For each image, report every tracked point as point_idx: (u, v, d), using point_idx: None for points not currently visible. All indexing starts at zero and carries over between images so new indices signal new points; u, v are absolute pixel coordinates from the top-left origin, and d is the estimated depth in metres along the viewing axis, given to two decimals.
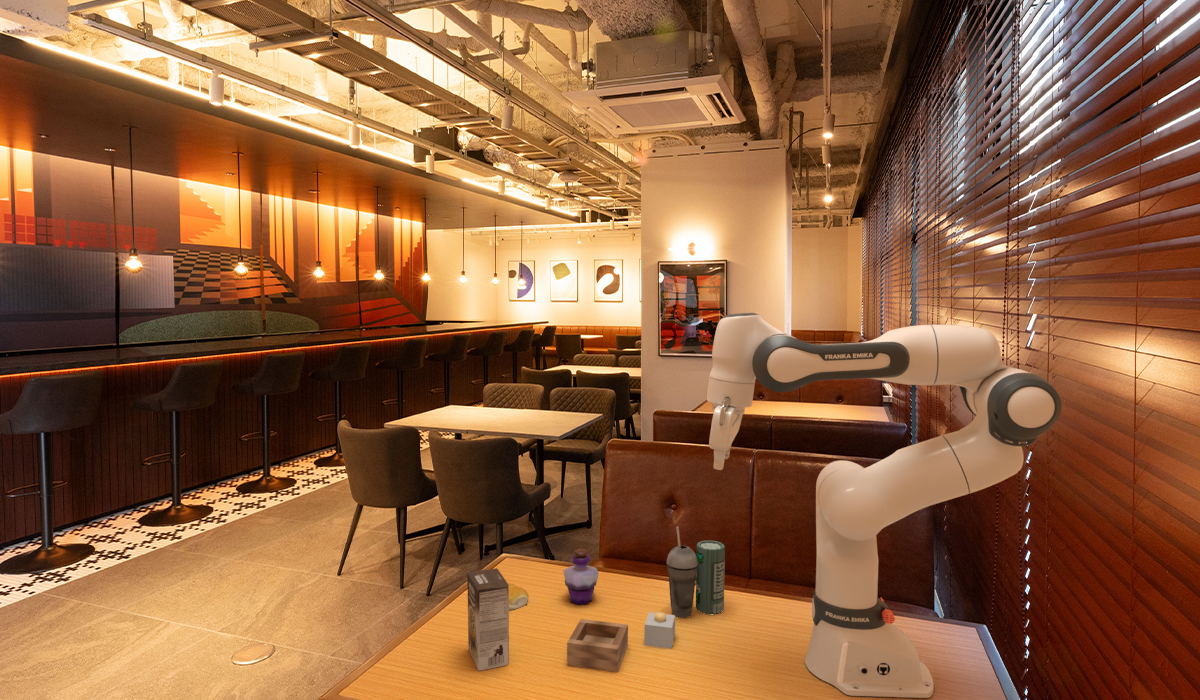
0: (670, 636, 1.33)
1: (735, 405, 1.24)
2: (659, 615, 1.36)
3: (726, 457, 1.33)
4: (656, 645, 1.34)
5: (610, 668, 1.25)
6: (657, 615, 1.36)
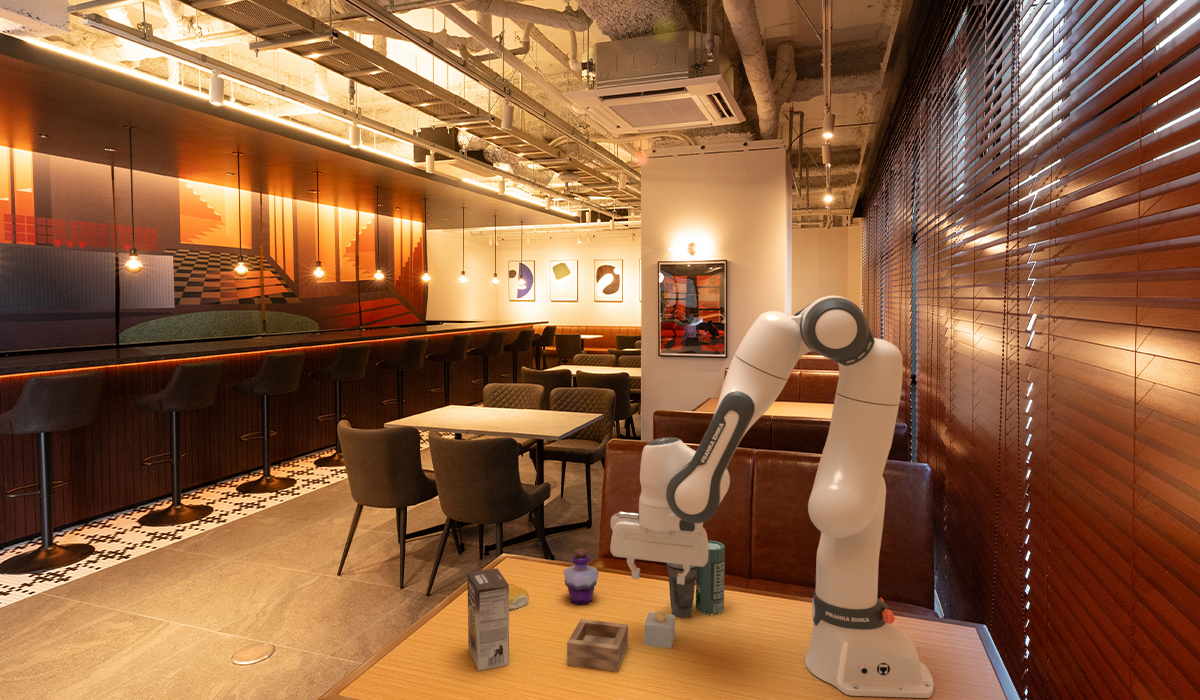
0: (670, 636, 1.33)
1: (639, 522, 1.35)
2: (659, 615, 1.36)
3: None
4: (656, 645, 1.34)
5: (610, 668, 1.25)
6: (657, 615, 1.36)
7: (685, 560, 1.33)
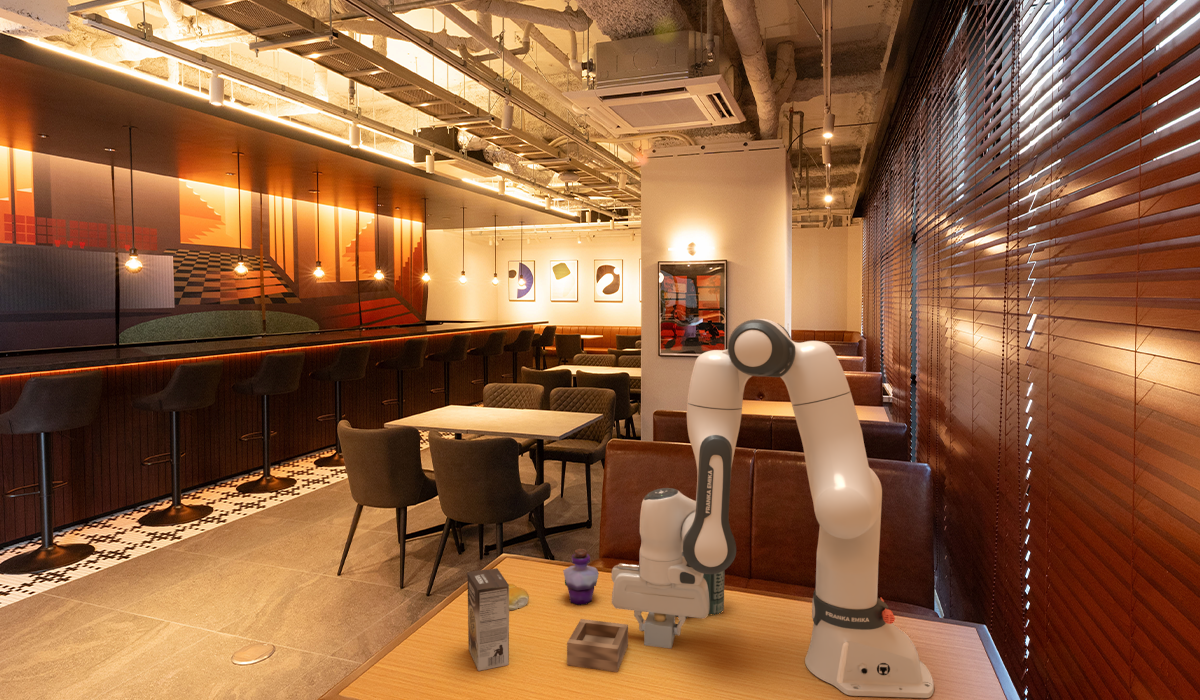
0: (670, 635, 1.33)
1: (639, 574, 1.35)
2: (659, 614, 1.36)
3: None
4: (656, 644, 1.34)
5: (610, 668, 1.25)
6: (657, 614, 1.36)
7: (686, 612, 1.33)
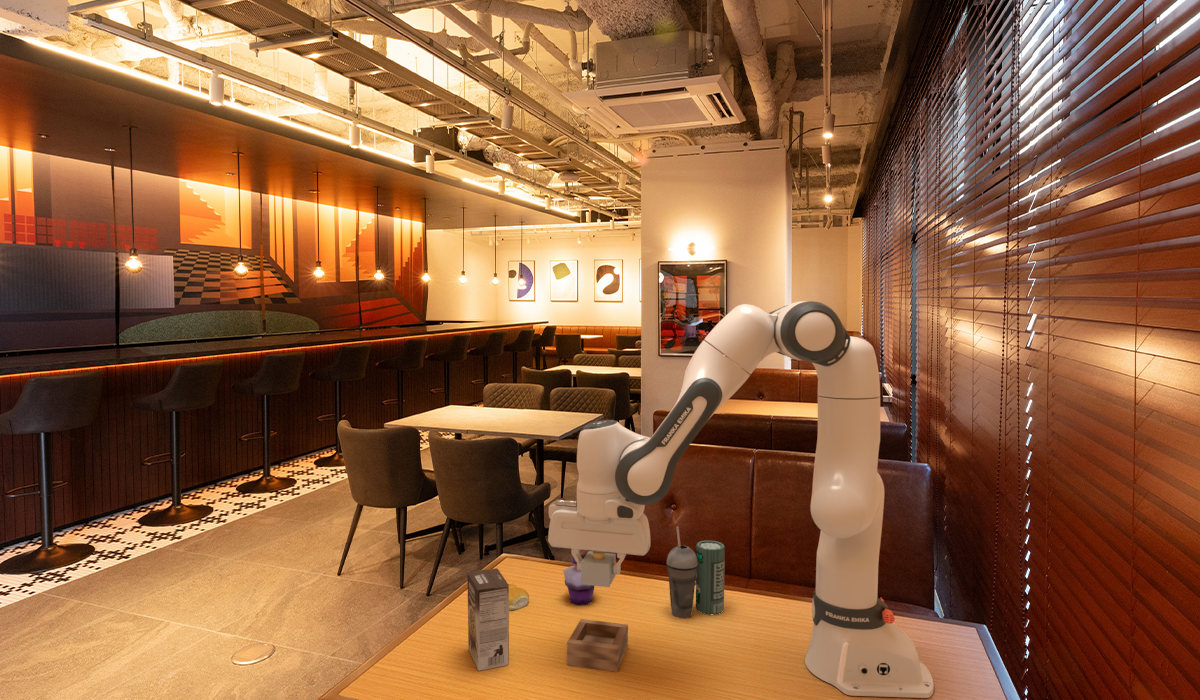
0: (608, 573, 1.26)
1: (576, 510, 1.28)
2: (597, 552, 1.29)
3: None
4: (593, 583, 1.27)
5: (610, 668, 1.25)
6: (596, 552, 1.29)
7: (625, 549, 1.26)
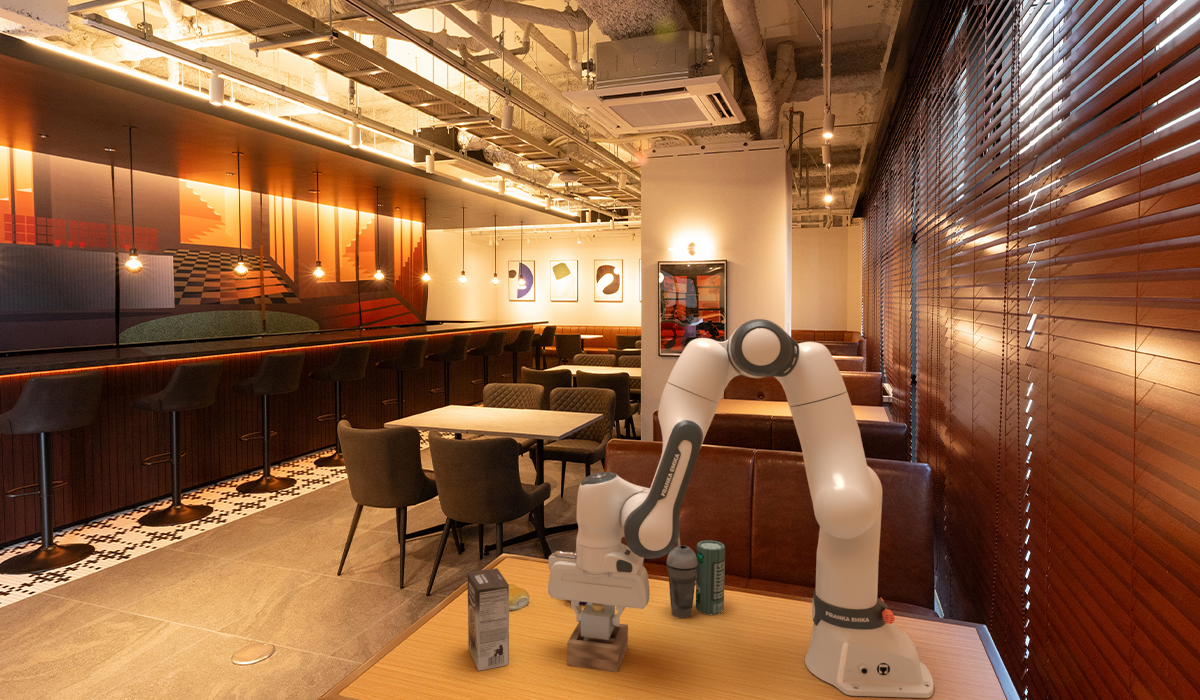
0: (607, 626, 1.27)
1: (576, 562, 1.29)
2: (597, 604, 1.30)
3: None
4: (593, 636, 1.28)
5: (610, 668, 1.25)
6: (595, 604, 1.30)
7: (624, 602, 1.27)
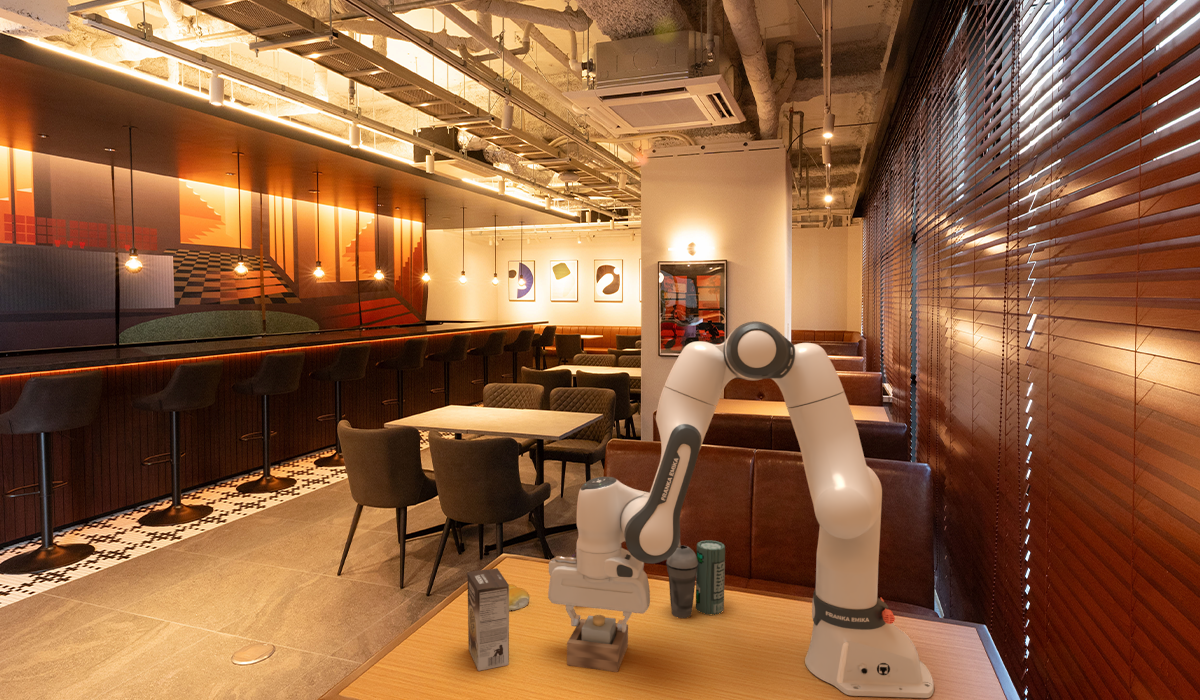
0: (608, 640, 1.27)
1: (576, 567, 1.29)
2: (597, 618, 1.30)
3: None
4: None
5: (610, 668, 1.25)
6: (596, 618, 1.30)
7: (624, 607, 1.27)
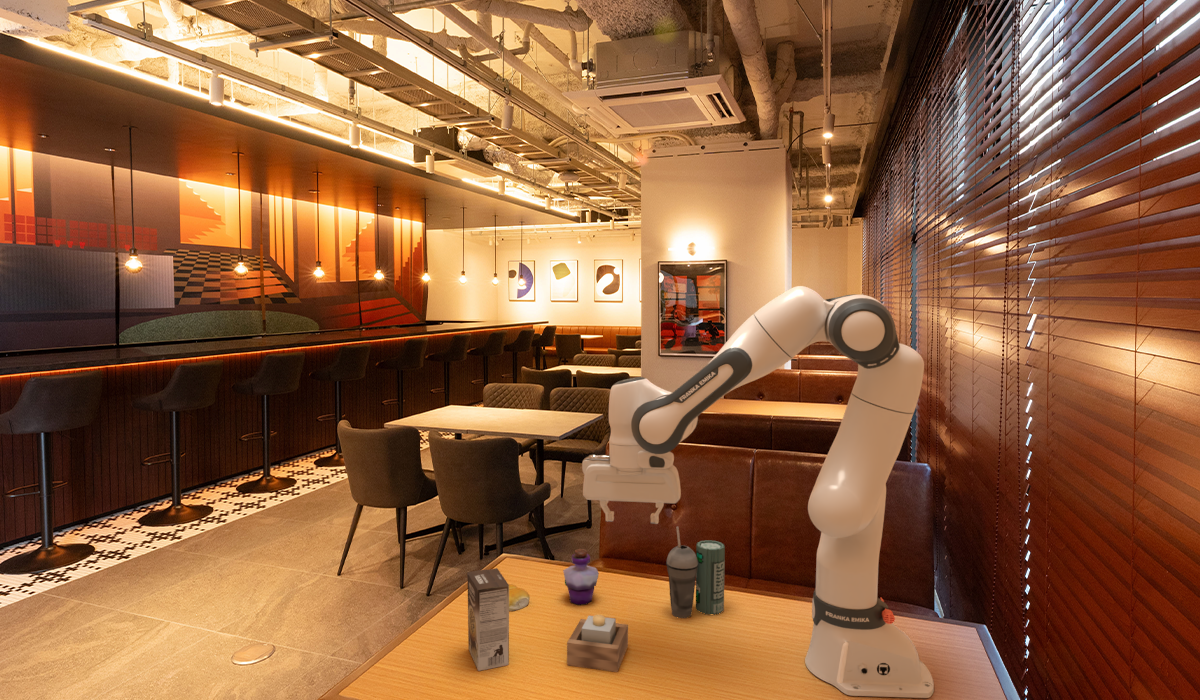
0: (608, 640, 1.27)
1: (609, 463, 1.35)
2: (597, 618, 1.30)
3: None
4: None
5: (610, 668, 1.25)
6: (596, 618, 1.30)
7: (657, 498, 1.33)
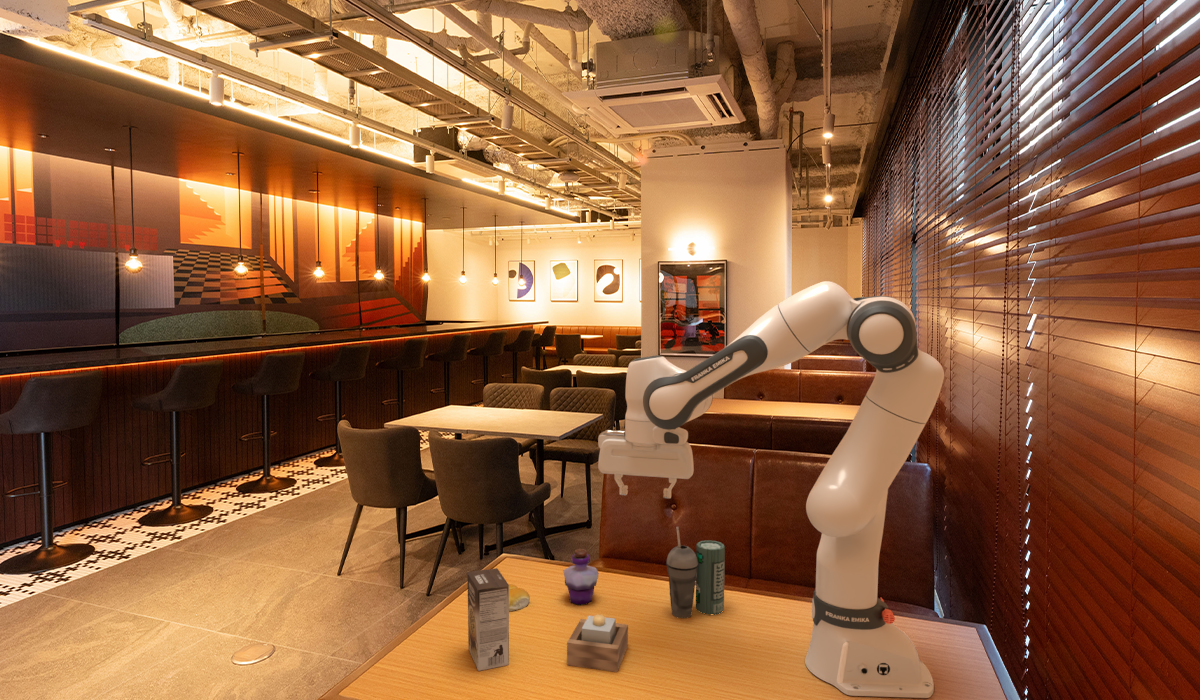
0: (608, 640, 1.27)
1: (625, 438, 1.38)
2: (597, 618, 1.30)
3: None
4: None
5: (610, 668, 1.25)
6: (596, 618, 1.30)
7: (671, 473, 1.36)
